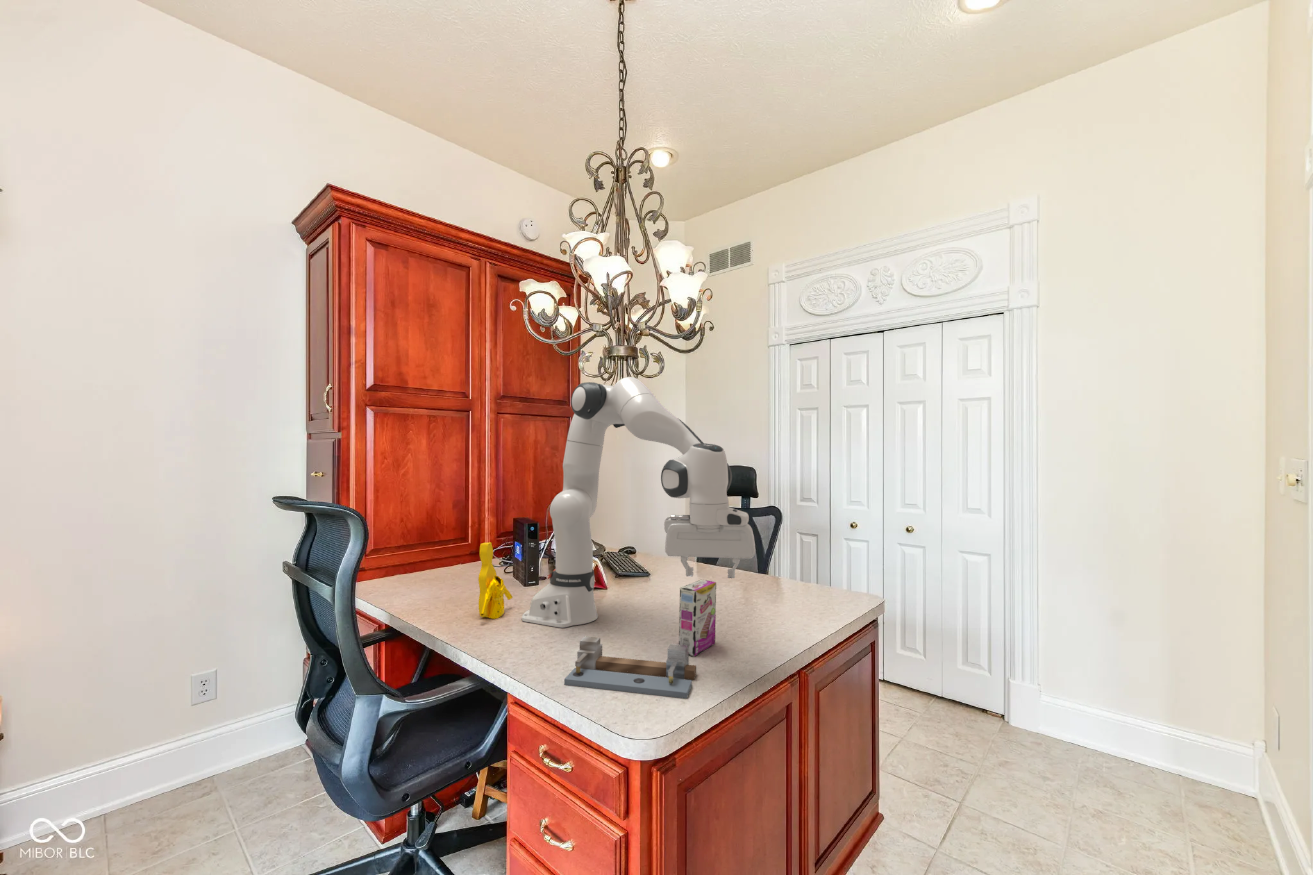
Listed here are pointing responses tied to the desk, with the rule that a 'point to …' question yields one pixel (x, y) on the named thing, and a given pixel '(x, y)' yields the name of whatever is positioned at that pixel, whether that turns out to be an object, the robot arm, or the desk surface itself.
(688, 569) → the robot arm
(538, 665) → the desk surface
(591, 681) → the flange plate
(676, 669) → the sliding jaw
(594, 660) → the rail
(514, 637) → the desk surface
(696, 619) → the candy bar box
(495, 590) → the figure statuette
